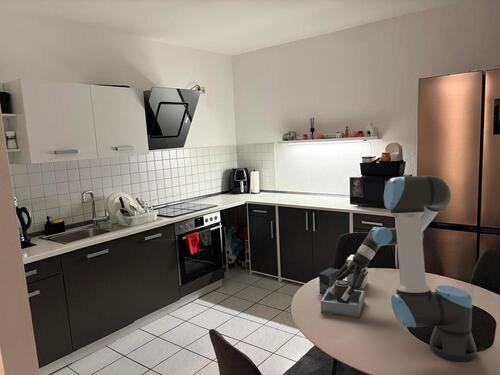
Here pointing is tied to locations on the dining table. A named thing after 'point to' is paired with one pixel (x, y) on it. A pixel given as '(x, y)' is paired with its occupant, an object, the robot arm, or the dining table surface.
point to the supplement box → (350, 277)
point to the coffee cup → (342, 290)
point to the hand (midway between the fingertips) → (337, 296)
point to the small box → (327, 279)
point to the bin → (343, 304)
